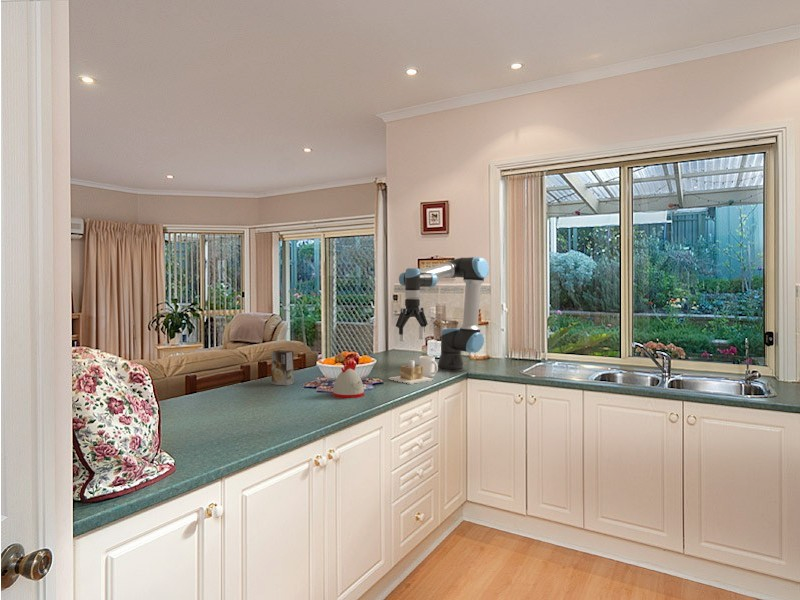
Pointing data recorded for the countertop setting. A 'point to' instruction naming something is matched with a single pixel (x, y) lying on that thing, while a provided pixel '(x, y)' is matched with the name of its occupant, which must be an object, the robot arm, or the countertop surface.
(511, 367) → the countertop surface
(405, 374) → the collar
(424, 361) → the mug
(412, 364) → the post stand
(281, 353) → the coffee box
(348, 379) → the kitchen timer
